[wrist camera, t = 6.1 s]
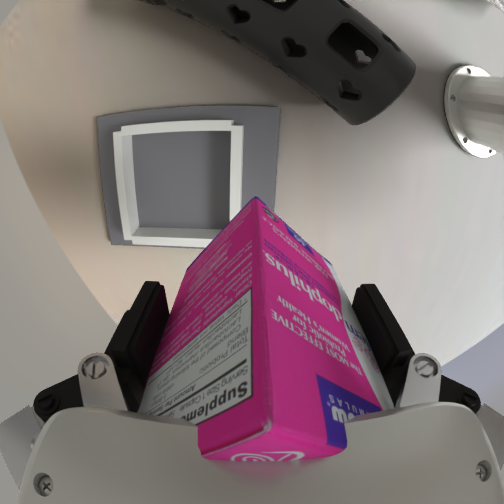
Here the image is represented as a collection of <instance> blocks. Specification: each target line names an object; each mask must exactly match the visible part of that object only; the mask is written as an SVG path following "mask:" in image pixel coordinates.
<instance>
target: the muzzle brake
mask: <svg viewBox="0 0 504 504" xmlns="http://www.w3.org/2000/svg"><path fill="white" fill-rule="evenodd" d="M140 1H143V2H146V3H149V4H153V5H165V4H167V5H168V6H169V8H171V9H172V10H174V11H176V12H179V13H181V14H183V15H185V16H188V17H190V18H192V19H194V20H196V21H198V22H200V23H203V24H205V25H207V26H209V27H211V28H212V29H214V30H216V31H218V32H220V33H222V34H224V35H226V36H228V37H229V38H231V39H233V40H235V41H236V42H238V43H240V44H242V45H243V46H245V47H247V48H248V49H250V50H252V51H253V52H255V53H256V54H258V55H260V56H261V57H263V58H264V59H266V60H267V61H269V62H270V63H272V64H273V65H275V66H276V67H278V68H280V69H281V70H282V71H284V72H285V73H287V74H288V75H289V76H291V77H292V78H294V79H295V80H296V81H298V82H299V83H300V84H302V85H303V86H304V87H306V88H307V89H308V90H310V91H311V92H312V93H313V94H315V95H316V96H317V97H318V98H320V99H321V100H322V101H323V102H325V103H326V104H327V105H328V106H329V107H331V108H332V109H333V110H334V111H335V112H337V113H338V114H339V115H340V116H341V117H342V118H343V119H345V120H346V121H347V122H348V123H349V124H351V125H359V124H362V123H365V122H367V121H369V120H371V119H372V118H374V117H376V116H377V115H378V114H380V113H381V112H383V111H384V110H385V109H386V108H387V107H389V106H390V105H391V104H392V103H393V102H394V101H395V100H396V99H397V98H398V97H399V96H400V95H401V94H402V93H403V91H404V90H405V89H406V88H407V86H408V85H409V84H410V82H411V80H412V79H413V77H414V74H415V70H416V66H415V63H414V62H413V61H412V60H411V59H410V58H409V57H408V56H407V55H406V54H405V53H404V52H403V51H402V50H401V49H400V48H399V47H398V46H397V45H396V44H395V43H394V42H393V41H392V40H391V39H390V38H389V37H388V36H387V35H386V34H384V33H383V32H382V31H381V30H380V29H379V28H378V27H377V26H375V25H374V24H373V23H372V22H371V21H369V20H368V19H367V18H366V17H365V16H363V15H362V14H361V13H360V12H358V11H357V10H356V9H354V8H353V7H352V6H350V5H349V4H348V3H346V2H345V1H343V0H286V1H285V2H275V1H274V0H140ZM357 50H362V51H363V52H364V54H365V56H368V57H370V58H371V61H370V62H363V61H358V58H357V53H356V51H357Z"/></svg>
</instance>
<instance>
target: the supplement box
mask: <svg viewBox="0 0 504 504" xmlns="http://www.w3.org/2000/svg"><path fill="white" fill-rule="evenodd" d="M390 409H395V408H394V405H393V402H392V400H391V397H390V394H389V392H388V389H387V387H386V384H385V381H384V379H383V376H382V374H381V372H380V369H379V367H378V365H377V362H376V360H375V357H374V355H373V352H372V350H371V347H370V345H369V343H368V340H367V338H366V336H365V334H364V332H363V329H362V327H361V325H360V323H359V321H358V318H357V316H356V314H355V312H354V310H353V308H352V305H351V303H350V301H349V299H348V296H347V294H346V292H345V290H344V288H343V286H342V284H341V282H340V280H339V278H338V276H337V274H336V272H335V270H334V268H333V266H332V264H331V263H330V262H329V261H328V260H327V259H325V258H324V257H323V256H322V255H320V254H319V253H318V252H317V251H316V250H314V249H313V248H312V247H311V246H310V245H309V244H308V243H307V242H305V241H304V240H303V239H302V238H301V237H300V236H299V235H298V234H297V233H296V232H295V231H294V230H293V229H291V228H290V227H289V226H288V225H287V224H286V223H285V222H284V221H283V220H282V219H281V218H279V217H278V216H277V215H276V214H275V213H274V212H273V211H272V210H271V209H270V208H269V207H268V206H267V205H266V204H265V203H264V202H263V201H262V200H260V199H259V198H258V197H257V196H255V197H253V198H252V199H251V200H250V201H249V202H248V203H247V204H246V205H245V206H244V207H243V208H242V209H241V210H240V211H239V213H238V214H237V215H236V216H235V217H234V218H233V219H232V220H231V221H230V222H229V223H228V224H227V225H226V226H225V227H224V228H223V229H222V231H221V232H220V233H219V234H218V235H217V236H216V237H215V238H214V239H213V240H212V241H211V242H210V243H209V245H208V246H207V247H206V248H205V249H204V250H203V251H202V252H201V253H200V254H199V256H198V257H197V258H196V259H195V260H194V261H193V262H192V264H191V265H190V266H189V267H188V268H187V270H186V273H185V276H184V278H183V281H182V283H181V286H180V289H179V291H178V294H177V297H176V299H175V302H174V305H173V308H172V310H171V313H170V315H169V318H168V321H167V324H166V327H165V329H164V332H163V335H162V338H161V341H160V344H159V346H158V349H157V352H156V355H155V358H154V361H153V364H152V367H151V370H150V373H149V376H148V379H147V382H146V386H145V389H144V392H143V396H142V399H141V402H140V406H139V409H138V412H137V413H142V414H149V415H156V416H163V417H171V418H179V419H186V420H188V421H189V422H191V423H193V424H195V425H196V426H197V427H198V448H199V450H200V452H201V456H202V457H203V458H205V459H216V460H230V461H289V460H303V459H313V458H321V457H328V456H333V455H336V454H339V453H341V452H342V451H344V450H345V449H346V448H347V437H346V430H345V425H344V423H345V422H346V421H348V420H350V419H351V418H353V417H355V416H356V415H362V414H368V413H374V412H380V411H385V410H390Z"/></svg>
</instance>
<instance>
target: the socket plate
mask: <svg viewBox="0 0 504 504" xmlns="http://www.w3.org/2000/svg"><path fill="white" fill-rule="evenodd" d="M279 125H280V107H265V106H234V105H217V106H186V107H171V108H159V109H149V110H140V111H132V112H125V113H118V114H111V115H105V116H100V117H97V127H98V147H99V161H100V172H101V181H102V190H103V198H104V205H105V212H106V218H107V224H108V230H109V235H110V241H111V245H129V246H152V247H175V248H197V249H205V248H206V247H207V246H208V245H209V243H210V242H211V241H212V240H213V239H214V238H215V237H216V236H217V235H218V234H219V233H220V232H221V231H222V229H223V228H224V227H225V226H226V225H227V224H228V223H229V222H230V221H231V220H232V219H233V218H234V217H235V216H236V215H237V214H238V213H239V211H240V210H241V209H242V208H243V207H244V206H245V205H246V204H247V203H248V202H249V201H250V200H251V199H252V198H253V197H255V196H257V197H258V198H259V199H260V200H262V201H263V202H264V203H265V204H266V205H267V206H268V207H269V208H270V209H271V210H272V211H273V212H274V203H275V189H276V174H277V158H278V142H279Z"/></svg>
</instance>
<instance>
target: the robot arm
mask: <svg viewBox="0 0 504 504" xmlns="http://www.w3.org/2000/svg"><path fill="white" fill-rule="evenodd" d="M444 104H445V112H446V118H447V121H448V124H449V127H450V130H451V132H452V134H453V136H454V138H455V139H456V141H457V143H458V144H459V145H460V146H461V147H462V148H463V149H464V150H465V151H466V152H467V153H469V154H471V155H473V156H476V157H480V158H486V157H490V156H492V155H493V154H495V153H496V152H499V153H502V154H504V77H491V76H490V75H489V74H488V73H487V72H486V71H484V70H483V69H481V68H479V67H477V66H473V65H463V66H460V67H458V68H456V69H455V70H454V71H453V72H452V73H451V74H450V76H449V78H448V80H447V83H446V87H445V95H444ZM352 308H353V310H354V312H355V314H356V316H357V318H358V321H359V323H360V325H361V327H362V329H363V332H364V334H365V336H366V338H367V340H368V343H369V345H370V347H371V350H372V352H373V355H374V357H375V360H376V362H377V365H378V367H379V369H380V372H381V374H382V376H383V379H384V381H385V384H386V387H387V389H388V392H389V394H390V397H391V400H392V402H393V405H394V408H395V409H390V410H385V411H380V412H374V413H368V414H362V415H356V416H355V417H353V418H351V419H350V420H348V421H346V422H345V423H344V425H345V430H346V437H347V448H346V449H345V450H344V451H342V452H341V453H339V454H336V455H333V456H328V457H321V458H313V459H303V460H289V461H230V460H216V459H205V458H203V457H202V456H201V452H200V450H199V448H198V427H197V426H196V425H195V424H193V423H191V422H189V421H188V420H186V419H179V418H171V417H163V416H156V415H149V414H142V413H137V412H138V409H139V406H140V402H141V399H142V396H143V392H144V389H145V386H146V382H147V379H148V376H149V373H150V370H151V367H152V364H153V361H154V358H155V355H156V352H157V349H158V346H159V344H160V341H161V338H162V335H163V332H164V329H165V327H166V324H167V321H168V318H169V315H170V314H169V309H168V304H167V299H166V294H165V289H164V286H163V285H160V283H159V282H157V281H145V283H144V284H143V286H142V288H141V290H140V292H139V294H138V295H137V297H136V299H135V301H134V303H133V305H132V307H131V309H130V310H127V311H126V312H125V314H124V315H123V317H122V319H121V321H120V323H119V325H118V327H117V329H116V331H115V333H114V335H113V337H112V339H111V341H110V343H109V345H108V347H107V349H106V351H105V353H104V354H103V353H92V354H90V355H87V356H86V357H85V358H83V359H82V361H81V362H80V363H79V366H78V374H77V375H75V376H73V377H71V378H69V379H66V380H64V381H62V382H60V383H58V384H55V385H53V386H51V387H49V388H47V389H45V390H43V391H41V392H40V393H39V394H38V395H37V396H36V398H35V400H34V404H33V406H32V407H30V406H29V405H28V406H27V407H25V408H23V409H22V410H20V411H19V412H17V413H16V414H14V415H13V416H11V417H10V418H8V419H7V420H5V421H3V422H2V423H1V424H0V450H1V452H2V454H3V457H4V459H5V462H6V464H7V466H8V468H9V470H10V472H11V474H12V476H13V478H14V480H15V482H16V484H17V486H18V488H19V494H18V499H17V504H504V482H503V478H502V475H501V468H502V466H503V464H504V416H502V415H501V414H499V413H498V412H496V411H495V410H493V409H492V408H490V407H489V406H487V405H486V404H483V405H481V402H480V398H479V396H478V394H477V393H476V392H475V391H474V390H472V389H470V388H468V387H466V386H464V385H462V384H460V383H458V382H456V381H454V380H451V379H449V378H447V377H445V376H443V375H441V366H440V363H439V362H438V361H437V359H436V358H434V357H433V356H431V355H429V354H425V353H418V354H416V355H415V353H414V351H413V349H412V347H411V346H410V344H409V342H408V340H407V338H406V336H405V334H404V333H403V331H402V329H401V327H400V325H399V324H398V322H397V320H396V318H395V317H394V315H393V314H392V312H391V310H390V308H389V307H388V305H387V303H386V302H385V300H384V298H383V297H382V295H381V293H380V292H379V290H378V288H377V287H376V285H375V284H362V285H361V286H360V287H358V288H357V289H356V292H355V296H354V300H353V304H352Z"/></svg>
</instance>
